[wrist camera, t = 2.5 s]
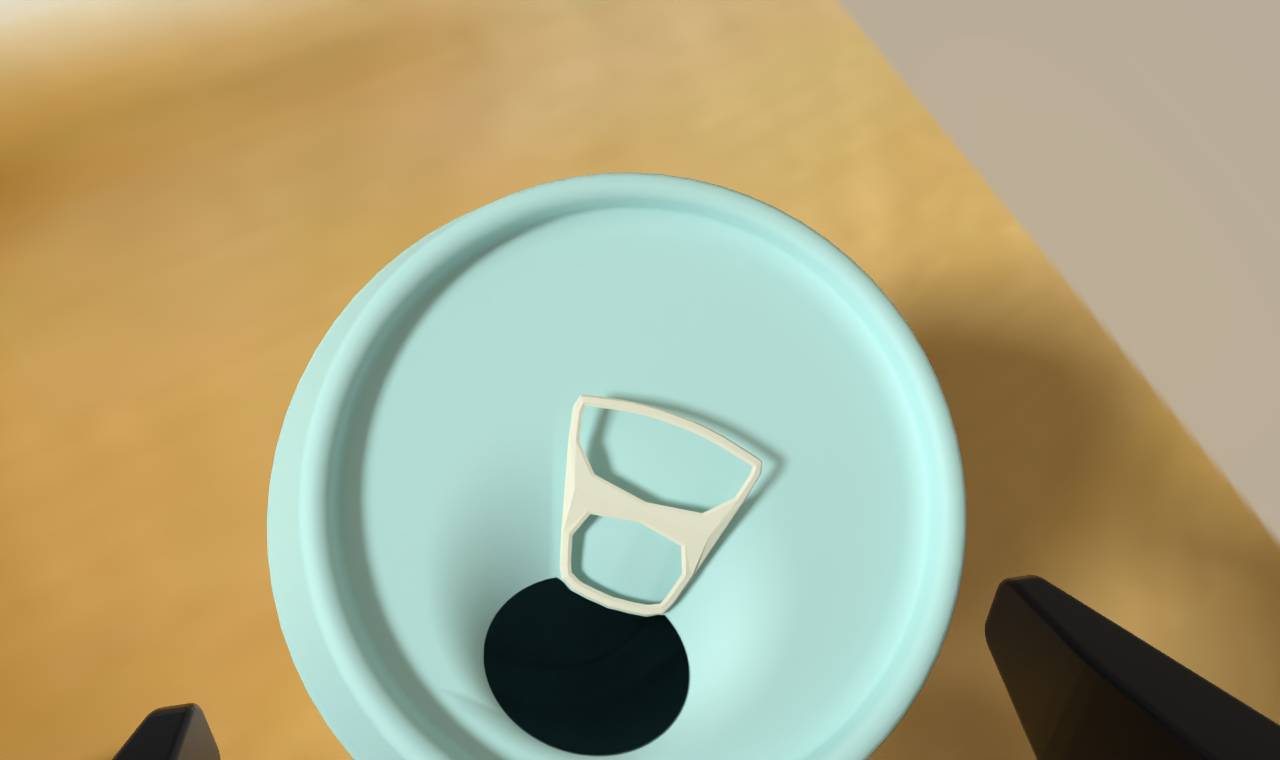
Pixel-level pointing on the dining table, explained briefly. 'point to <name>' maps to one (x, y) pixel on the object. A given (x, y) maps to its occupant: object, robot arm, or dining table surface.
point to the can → (617, 490)
